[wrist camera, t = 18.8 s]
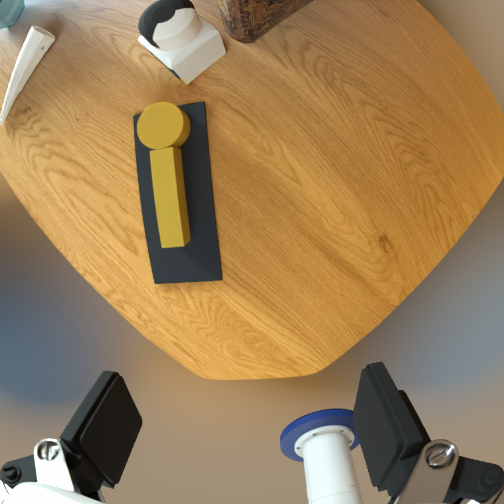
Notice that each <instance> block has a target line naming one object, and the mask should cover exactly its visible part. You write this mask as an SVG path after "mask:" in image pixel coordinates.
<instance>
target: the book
mask: <svg viewBox="0 0 504 504" xmlns="http://www.w3.org/2000/svg"><path fill="white" fill-rule="evenodd" d="M311 1H313V0H217V2H218V5H219V9H220V13H221V16H222V20H223V24H224V27H225V30H226V32H227V33H228V34H229V35H230V36H231V37H232V38H233V39H235V40H237V41H239V42H242V43H254V42H255V41H257V40H258V39H259V38H260V37H262V36H263V35H264V34H266V33H267V32H268V31H269V30H271V29H272V28H274V27H275V26H276V25H278V24H279V23H280V22H282V21H283V20H285V19H286V18H287V17H289V16H290V15H292V14H293V13H295V12H296V11H298V10H299V9H301V8H302V7H304V6H305V5H307V4H308V3H310V2H311Z"/></svg>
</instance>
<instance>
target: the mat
mask: <svg viewBox="0 0 504 504" xmlns="http://www.w3.org/2000/svg"><path fill="white" fill-rule="evenodd" d="M177 107H178V108H180V109H181V110H182V111H184V112H185V113H186V114H187V116H188V118H189V120H190V133H189V136H188V138H187V140H186V141H185V142H184V143H183V144H182V145H181V146H180V147H178V148H179V149H181V156H182V166H183V176H184V186H185V195H186V204H187V212H188V220H189V228H190V235H191V240H190V241H189V242H188V243H187V244H186V245H185V246H181V247H169V248H162V246H161V240H160V233H159V227H158V220H157V213H156V205H155V197H154V189H153V180H152V170H151V160H150V151H153V150H156V149H152V148H149V147H147V146H145V145H144V144H143V143H142V142H141V141H140V139H139V137H138V133H137V124H138V120H139V118H140V116H141V114H139V115H135V116H133V118H134V137H135V151H136V163H137V174H138V183H139V192H140V200H141V207H142V215H143V222H144V228H145V234H146V241H147V246H148V252H149V258H150V263H151V268H152V273H153V278H154V283H155V284H162V283H183V282H202V281H219V280H222V272H221V264H220V255H219V247H218V239H217V230H216V221H215V212H214V202H213V193H212V183H211V172H210V161H209V150H208V139H207V126H206V113H205V102H197V103H191V104H186V105H180V106H177Z"/></svg>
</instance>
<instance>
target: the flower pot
mask: <svg viewBox="0 0 504 504" xmlns="http://www.w3.org/2000/svg"><path fill="white" fill-rule="evenodd" d="M23 8H24V1H23V0H0V29H1V28H5V27H8V26H10V25H13V24H15V22H16V20H17V19H18V17H19V15H20V13H21V11H22V10H23Z"/></svg>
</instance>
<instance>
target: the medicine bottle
mask: <svg viewBox="0 0 504 504" xmlns="http://www.w3.org/2000/svg"><path fill="white" fill-rule="evenodd" d="M138 29H139V32H140V33H141V35H142V36H141V37H140V38H139V39H138V41H139V42H140V43H141V44H142V45H143V46H144V47H145V48H146V49H147V50H148V51H149V52H150V53H151V54H152V55H153V56H154V57H155V58H156V59H157V60H158V61H160V62H161V63H162V64H163V65H164V66H165V67H166V68H167V69H168V70H169V71H171V72H172V73H173V74H174V75H175V76H176V77H177V78H178V79H179V80H180V81H181V82H182V83H183V84H185V85H188V84H189V83H190V82H191V81H192V80H194V79H195V78H196V77H197V76H198V75H199V74H201V73H202V72H203V71H204V70H205V69H207V68H208V67H209V66H210V65H212V64H213V63H214V62H215V61H217V60H218V59H219V58H221V57H222V56H223V55H225V54H226V51H225V47H224V44H223V41H222V38H221V34H220V31H219V30H218V29H217V28H216V27H215V26H213V25H212V24H211V23H209V22H208V21H207V20H205V19H204V18H203V17H201V16H200V15H199V14H197V12H196V10H195V8H194V6H193V4H192V3H191V2H190V1H189V0H159V1H157V2H155V3H153V4H152V5H150V6H149V7H148V8H147V9H146V10H145V11H144V12H143V14H142V16H141V17H140V20H139V23H138Z"/></svg>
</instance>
